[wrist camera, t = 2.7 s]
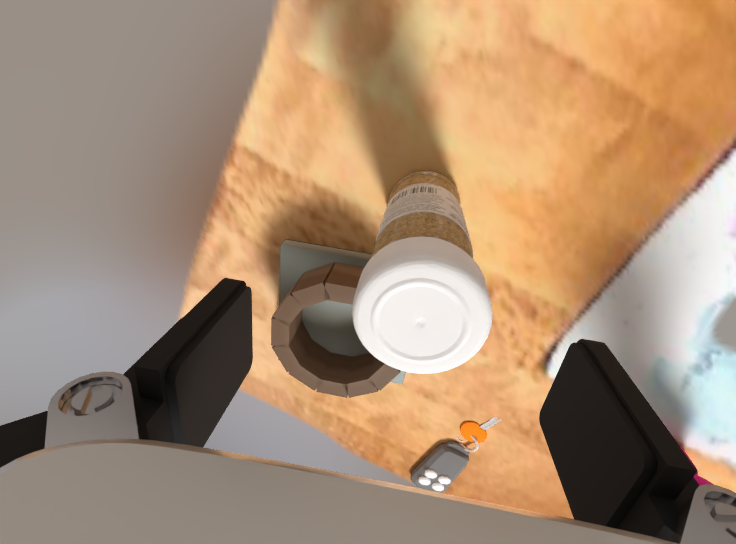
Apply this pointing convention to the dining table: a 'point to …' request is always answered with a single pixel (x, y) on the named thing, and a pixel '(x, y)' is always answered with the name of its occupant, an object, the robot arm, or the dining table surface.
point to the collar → (324, 322)
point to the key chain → (449, 458)
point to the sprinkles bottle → (422, 282)
